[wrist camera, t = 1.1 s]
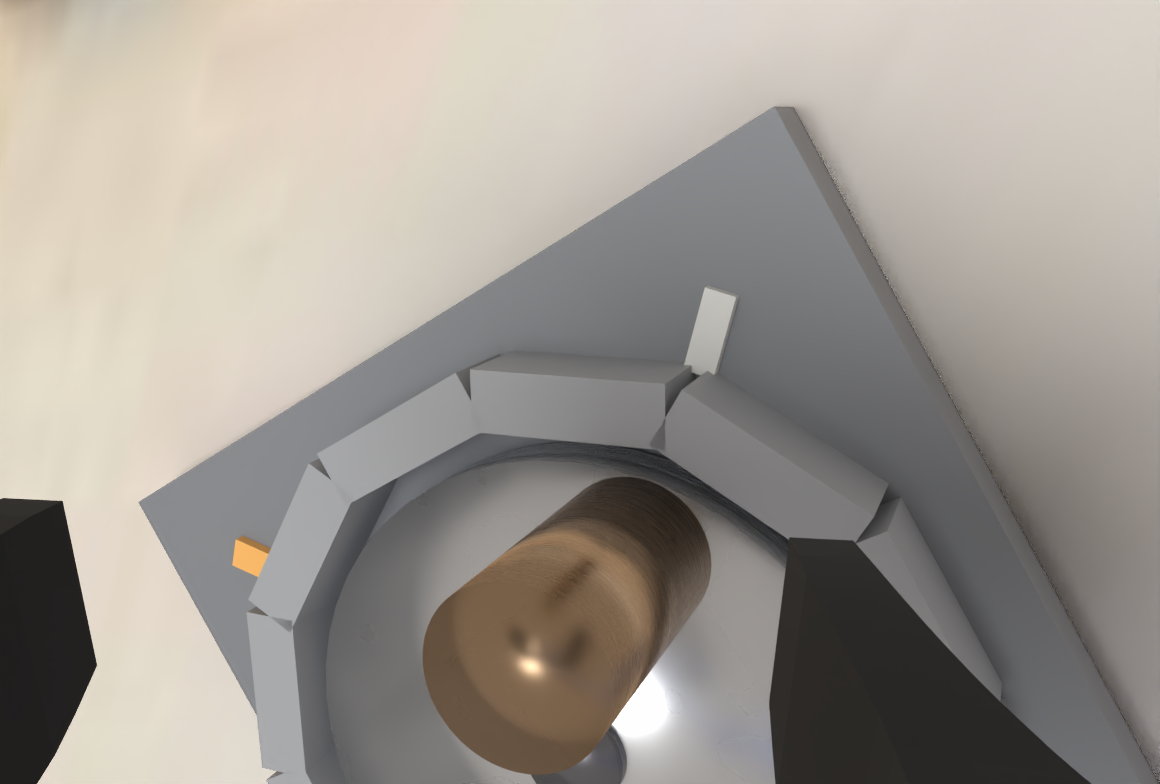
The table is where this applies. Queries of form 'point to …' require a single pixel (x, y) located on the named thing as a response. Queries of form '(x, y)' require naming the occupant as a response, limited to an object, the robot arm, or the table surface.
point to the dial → (560, 629)
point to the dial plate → (777, 350)
